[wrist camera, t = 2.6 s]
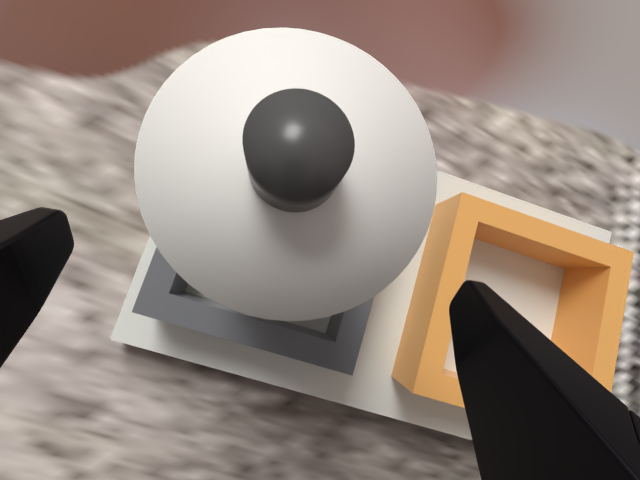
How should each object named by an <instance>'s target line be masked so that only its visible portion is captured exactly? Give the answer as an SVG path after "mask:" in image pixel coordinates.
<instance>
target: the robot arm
mask: <svg viewBox="0 0 640 480" xmlns="http://www.w3.org/2000/svg"><path fill="white" fill-rule="evenodd" d="M73 247H74V240H73V236H72V233H71V229H70V226H69V222H68V219H67V216H66V214H65V213H64V212H63V211H61V210H57V209H51V208H44V207H40V208H36V209H33V210H30V211H27V212H24V213H21V214H18V215H15V216H12V217H9V218H5V219H2V220H0V368H1V366H2V365H3V363H4V362H5V360H6V359H7V358H8V356H9V355H10V353H11V352H12V350H13V349H14V348H15V346H16V345H17V343H18V342H19V340H20V339H21V338H22V336H23V335H24V333H25V332H26V330H27V329H28V328H29V326H30V325H31V323H32V322H33V320H34V319H35V317H36V316H37V314H38V313H39V311H40V310H41V308H42V306H43V304H44V303H45V301H46V299H47V297H48V295H49V294H50V292H51V290H52V288H53V286H54V284H55V283H56V281H57V279H58V277H59V275H60V273H61V271H62V270H63V268H64V266H65V264H66V262H67V260H68V259H69V257H70V255H71V253H72V251H73ZM449 316H450V325H451V333H452V341H453V350H454V358H455V365H456V371H457V376H458V380H459V385H460V389H461V393H462V398H463V402H464V406H465V411H466V415H467V419H468V424H469V428H470V432H471V436H472V441H473V445H474V449H475V454H476V458H477V462H478V467H479V471H480V475H481V480H640V417H639V416H637V415H636V414H635V413H634V412H633V411H631V410H629V409H628V407H627V406H626V405H625V404H624V403H622V402H621V401H620V400H619V399H618V398H617V397H615V396H614V395H613V394H612V393H611V392H610V391H609V390H607V389H606V388H605V387H604V386H603V385H602V384H601V383H599V382H598V381H597V380H596V379H595V378H594V377H592V376H591V375H590V374H589V373H588V372H587V371H586V370H584V369H583V368H582V367H581V366H580V365H579V364H577V363H576V362H575V361H574V360H573V359H572V358H571V357H569V356H568V355H567V354H566V353H565V352H564V351H562V350H561V349H560V348H559V347H558V346H557V345H556V344H554V343H553V342H552V341H551V340H550V339H549V338H547V337H546V336H545V335H544V334H543V333H542V332H541V331H539V330H538V329H537V328H536V327H535V326H534V325H533V324H531V323H530V322H529V321H528V320H527V319H526V318H524V317H523V316H522V315H521V314H520V313H519V312H518V311H516V310H515V309H514V308H513V307H512V306H511V305H510V304H508V303H507V302H506V301H505V300H504V299H503V298H501V297H500V296H499V295H498V294H497V293H496V292H495V291H493V290H492V289H491V288H490V287H489V286H488V285H486V284H485V283H483V282H480V281H474V280H466V281H465V282H463V284H462V285H461V287H460V288H459V290H458V291H457V293H456V294H455V296H454V297H453V299H452V301H451V303H450V306H449Z"/></svg>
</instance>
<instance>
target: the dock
mask: <svg viewBox="0 0 640 480" xmlns="http://www.w3.org/2000/svg"><path fill="white" fill-rule="evenodd" d="M610 237H611V232H610V231H607V230H604V229H601V228H598V227H596V226H593V225H590V224H587V223H584V222H581V221H579V220H576V219H573V218H570V217H567V216H565V215H562V214H559V213H556V212H553V211H551V210H548V209H545V208H542V207H539V206H536V205H534V204H531V203H528V202H525V201H522V200H520V199H517V198H514V197H511V196H508V195H505V194H503V193H500V192H497V191H494V190H491V189H489V188H486V187H483V186H480V185H477V184H475V183H472V182H469V181H466V180H463V179H460V178H458V177H455V176H452V175H449V174H446V173H444V172H441V171H438V170H437V194H436V201H435V206H434V212H433V216H432V219H431V222H430V225H429V228H428V231H427V233H426V235H425V238H424V240H423V242H422V244H421V246H420V248H419V250H418V251H417V253H416V254H415V256H414V257H413V259H412V260H411V262H410V263H409V265H408V266H407V267H406V268H405V269H404V270H403V271H402V273H401V274H400V275H399V276H398V277H397V278H396V279H395V280H394V281H393V282H392V283H391V284H389V285H388V286H387V287H386V288H385V289H384V290H383V291H381V292H380V293H378V294H377V295H375V296H374V297H372V298H371V299H369V300H368V301H366V302H364V303H362V304H360V305H358V306H356V307H354V308H352V309H350V310H347V311H344V312H341V313H338V314H335V315H332V316H329V317H324V318H318V319H313V320H304V321H279V320H268V319H263V318H258V317H254V316H249V315H245V314H243V313H240V312H237V311H234V310H232V309H229V308H226V307H224V306H222V305H221V304H219V303H217V302H215V301H213V300H211V299H209V298H207V297H206V296H204V295H203V294H202V293H200V292H199V291H198V290H196V289H195V288H193V287H192V286H191V285H189V284H188V283H187V282H186V281H185V280H184V279H183V278H182V277H181V276H180V275H179V274H178V273H177V272H176V271H174V269H173V268H172V267H171V266H170V264H169V263H168V262H167V261H166V259H165V258H164V257H163V256H162V254H161V253H160V251H159V250H158V248H157V246H156V245H155V243H154V241H153V240H152V238H151V236H149V239H148V242H147V244H146V247H145V249H144V252H143V254H142V257H141V260H140V262H139V265H138V267H137V270H136V273H135V275H134V278H133V280H132V283H131V285H130V288H129V291H128V293H127V296H126V298H125V301H124V304H123V306H122V309H121V311H120V314H119V316H118V319H117V322H116V324H115V327H114V329H113V332H112V335H111V337H110V339H111V340H114V341H118V342H121V343H125V344H128V345H132V346H136V347H139V348H143V349H146V350H150V351H154V352H157V353H161V354H164V355H168V356H172V357H175V358H179V359H182V360H186V361H189V362H193V363H197V364H200V365H204V366H207V367H211V368H215V369H218V370H222V371H225V372H229V373H232V374H236V375H240V376H243V377H247V378H250V379H254V380H258V381H261V382H265V383H268V384H272V385H276V386H279V387H283V388H286V389H290V390H293V391H297V392H301V393H304V394H308V395H311V396H315V397H319V398H322V399H326V400H329V401H333V402H336V403H340V404H344V405H347V406H351V407H354V408H358V409H362V410H365V411H369V412H372V413H376V414H379V415H383V416H387V417H390V418H394V419H397V420H401V421H405V422H408V423H412V424H415V425H419V426H423V427H426V428H430V429H433V430H437V431H440V432H444V433H448V434H451V435H455V436H458V437H462V438H466V439H469V440H472V436H471V432H470V428H469V424H468V419H467V415H466V411H465V406H464V402H463V398H462V393H461V389H460V385H459V380H458V376H457V371H456V365H455V358H454V350H453V341H452V333H451V325H450V316H449V306H450V303H451V301H452V299H453V297H454V296H455V294H456V293H457V291H458V290H459V288H460V287H461V285H462V284H463V282H465V281H466V280H474V281H480V282H483V283H485V284H486V285H488V286H489V287H490V288H491V289H492V290H493V291H495V292H496V293H497V294H498V295H499V296H500V297H501V298H503V299H504V300H505V301H506V302H507V303H508V304H510V305H511V306H512V307H513V308H514V309H515V310H516V311H518V312H519V313H520V314H521V315H522V316H523V317H524V318H526V319H527V320H528V321H529V322H530V323H531V324H533V325H534V326H535V327H536V328H537V329H538V330H539V331H541V332H542V333H543V334H544V335H545V336H546V337H547V338H549V339H550V340H551V341H552V342H553V343H554V344H556V345H557V346H558V347H559V348H560V349H561V350H562V351H564V352H565V353H566V354H567V355H568V356H569V357H571V358H572V359H573V360H574V361H575V362H576V363H577V364H579V365H580V366H581V367H582V368H583V369H584V370H586V371H587V372H588V373H589V374H590V375H591V376H592V377H594V378H595V379H596V380H597V381H598V382H599V383H601V384H602V385H603V386H604V387H605V388H606V389H607V390H609V391H610V392H611V390H612V384H613V378H614V372H615V366H616V359H617V353H618V347H619V341H620V335H621V328H622V322H623V316H624V310H625V304H626V297H627V291H628V285H629V279H630V273H631V266H632V260H633V254H634V252H631V251H629V250H626V249H623V248H620V247H617V246H614V245H612V244H609V243H610Z"/></svg>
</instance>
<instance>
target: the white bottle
mask: <svg viewBox="0 0 640 480" xmlns="http://www.w3.org/2000/svg"><path fill="white" fill-rule="evenodd" d="M134 178H135V187H136V196H137V200H138V203H139V207H140V211H141V215H142V218H143V220H144V222H145V225H146V227H147V230H148V232H149V234H150V236H151V238H152V240H153V241H154V243H155V245H156V246H157V248H158V250H159V251H160V253H161V254H162V256H163V257H164V258H165V259H166V261H167V262H168V263H169V264H170V266H171V267H172V268H173V269H174V271H176V272H177V273H178V274H179V275H180V276H181V277H182V278H183V279H184V280H185V281H186V282H187V283H188V284H189V285H191V286H192V287H193V288H195V289H196V290H198V291H199V292H200V293H202V294H203V295H204V296H206V297H207V298H209V299H211V300H213V301H215V302H217V303H219V304H221V305H222V306H224V307H226V308H229V309H232V310H234V311H237V312H240V313H243V314H245V315H249V316H254V317H258V318H263V319H268V320H279V321H304V320H313V319H318V318H324V317H329V316H332V315H335V314H338V313H341V312H344V311H347V310H350V309H352V308H354V307H356V306H358V305H360V304H362V303H364V302H366V301H368V300H369V299H371V298H372V297H374V296H375V295H377V294H378V293H380V292H381V291H383V290H384V289H385V288H386V287H387V286H388V285H389V284H391V283H392V282H393V281H394V280H395V279H396V278H397V277H398V276H399V275H400V274H401V273H402V271H403V270H404V269H405V268H406V267H407V266H408V265H409V263H410V262H411V260H412V259H413V257H414V256H415V254H416V253H417V251H418V250H419V248H420V246H421V244H422V242H423V240H424V238H425V235H426V233H427V231H428V228H429V225H430V222H431V219H432V216H433V212H434V206H435V201H436V194H437V166H436V157H435V152H434V147H433V142H432V139H431V136H430V133H429V130H428V127H427V125H426V123H425V120H424V118H423V116H422V114H421V112H420V110H419V108H418V106H417V105H416V103H415V102H414V100H413V99H412V97H411V95H410V94H409V92H408V91H407V90H406V89H405V88H404V86H403V85H402V84H401V83H400V81H399V80H398V79H397V78H396V77H395V76H394V75H393V74H392V73H391V72H390V71H389V70H388V69H387V68H386V67H385V66H383V65H382V64H381V63H379V62H378V61H377V60H376V59H374V58H373V57H371V56H370V55H369V54H367V53H365V52H364V51H362V50H360V49H359V48H357V47H355V46H354V45H351V44H349V43H347V42H345V41H342V40H340V39H338V38H335V37H332V36H329V35H326V34H323V33H320V32H314V31H309V30H304V29H295V28H294V29H293V28H264V29H258V30H252V31H247V32H242V33H239V34H236V35H233V36H229V37H226V38H224V39H222V40H220V41H217V42H215V43H213V44H211V45H209V46H207V47H205V48H204V49H202V50H201V51H199V52H197V53H196V54H194V55H193V56H191V57H190V58H189V59H188V60H187V61H185V62H184V63H183V64H182V65H181V66H179V67H178V68H177V69H176V70H175V71H174V72H173V74H172V75H171V76H170V77H169V78H168V79H167V80H166V81H165V82H164V84H163V85H162V87H161V88H160V89H159V91H158V92H157V94H156V95H155V97H154V98H153V100H152V102H151V104H150V106H149V108H148V110H147V112H146V114H145V116H144V119H143V122H142V125H141V128H140V131H139V134H138V140H137V145H136V151H135V164H134Z"/></svg>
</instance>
